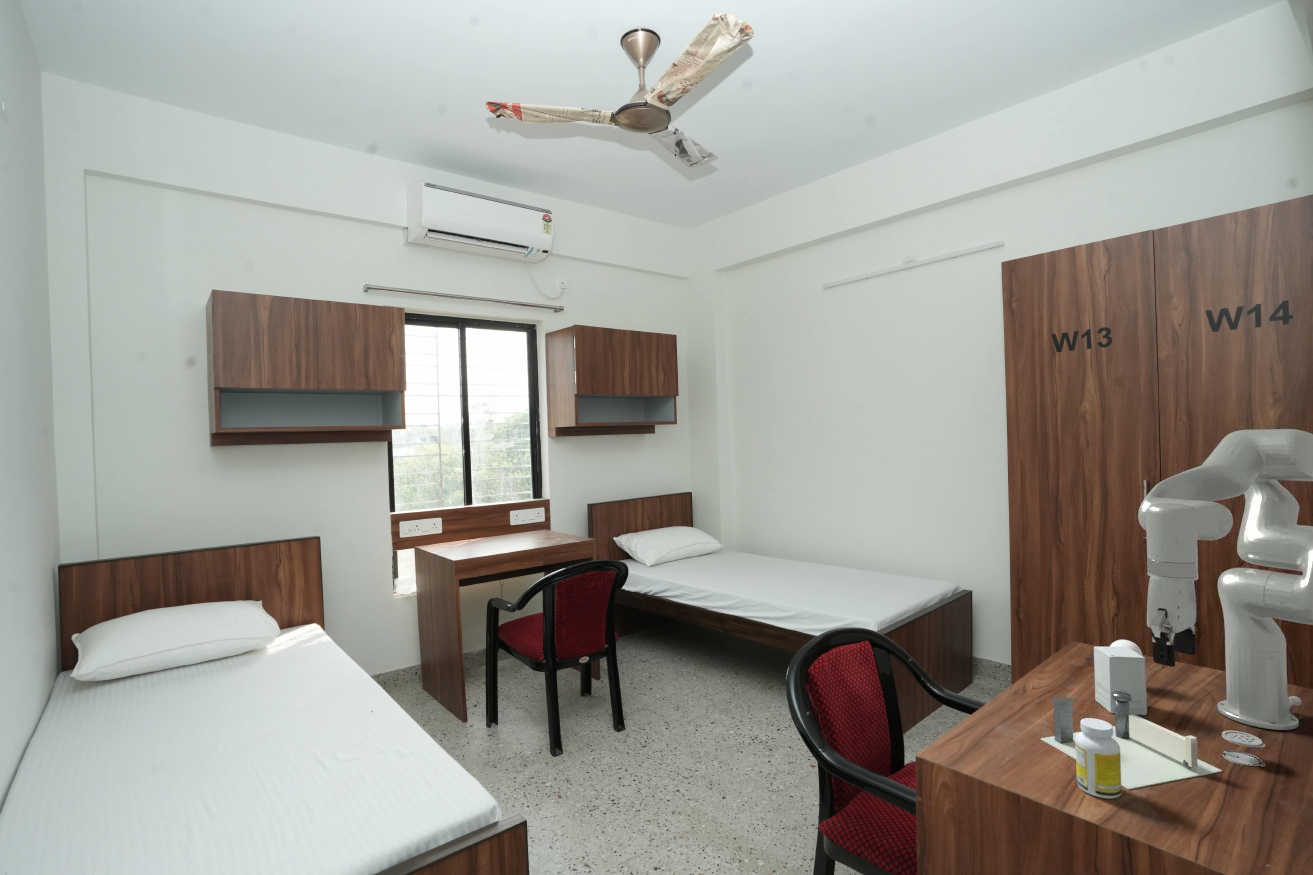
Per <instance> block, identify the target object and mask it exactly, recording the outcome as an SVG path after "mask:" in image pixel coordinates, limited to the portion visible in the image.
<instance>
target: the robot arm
mask: <svg viewBox="0 0 1313 875" xmlns="http://www.w3.org/2000/svg"><path fill="white" fill-rule="evenodd" d="M1279 481H1295V482H1296V481H1297V482H1313V433H1311V432H1308V431H1305V430H1301V429H1296V428H1295V429H1293V428H1280V429H1279V428H1278V429H1277V428H1275V429H1273V428H1272V429H1270V428H1269V429H1268V428H1267V429H1241V430H1236V431H1232V432H1230V433H1228V434H1227V435H1226V436H1225V437H1224V438H1222V439H1221V441H1220V442H1219V443H1218V444H1217V446H1216V447H1215V448H1214V449H1213V451H1212V452H1211V453H1210V455H1209V456H1208V457H1207V458H1206V459H1205V460H1204V462H1203V463H1202V464H1201V465H1199V466H1195V467H1193V468H1189V469H1187V470H1184V471H1182V472H1180V473H1177V474H1175V475H1173V476H1170V477H1167V478H1166V479H1164V480H1161V481H1160V482H1159V483H1156V485H1154V487H1153V488H1152V489H1151V490H1150V491H1149V492H1148V493H1147V495H1146V496H1145V497H1144V499H1143V500H1142V502H1141V504H1140V506H1139V509H1138V515H1137V518H1138V522H1139V525H1140V526H1141V528H1142V529H1143V530H1144V531H1145V532H1146V557H1147V558H1146V560H1147V561H1146V562H1147V563H1146V565H1147V576H1148V577H1149V581H1148V587H1147V588H1148V589H1147V602H1146V603H1147V604H1146V609H1147V610H1146V626H1147V627H1148V628H1149V629H1151V632H1150V633H1151V636H1152V638H1151V640H1152V653H1153V654H1152V655H1153V660H1152V661H1153V663H1154V664H1158V665H1162V666H1167V667H1171V668H1173V667H1175V666H1176V652H1177V653H1180V654H1186V655H1190V656H1195V655H1196V654H1197V650H1196V649H1197V648H1196V631H1197V630H1196V627H1195V624H1196V622H1197V597H1196V589H1195V581H1198V580H1199V562H1198V561H1199V555H1198V552H1199V550H1198V548H1199V547H1198V541H1216V540H1219V539H1222V538H1224V537H1226V536H1227V535H1228V534H1229V533H1230V531H1232V528H1233V526H1234V525H1233V524H1234V517H1233V515H1232V512H1231V511H1230V509H1228V507H1227V506H1225V505H1224V504H1221V503H1219V502H1217V501H1222V500H1227V499H1231V498H1236V497H1239V496H1241V495H1244V500H1245V503H1244V509H1243V510H1244V511H1243V515H1242V519H1241V524H1240V527H1239V532H1238V537H1237V542H1236V552H1237V555H1238V556H1239V558H1240V559H1241V560H1242V561H1245V562H1246V563H1249V564H1252V565H1255V566H1262V567H1269V568H1276V569H1282V570H1289V571H1297V572H1302V575H1299V574H1294V573H1285V572H1278V571H1273V570H1266V569H1259V568H1258V569H1257V568H1251V567H1234V568H1230V569H1227V570H1225V571H1223V572H1221V574H1220V575H1219V577H1218V580H1217V592H1218V596H1219V600H1220V604H1221V608H1222V615H1223V620H1224V622H1223V624H1224V648H1225V650H1224V651H1225V654H1224V655H1225V679H1226V680H1225V681H1226V682H1225V684H1226V685H1225V687H1226V688H1225V689H1226V690H1225V691H1226V699H1224V700H1221V701H1219V702H1218V703H1217V710H1218V712H1219V713H1220V714H1221V715H1223V716H1224V717H1225V718H1226V717H1227V718H1228V719H1230V720H1232V721H1235V722H1237V723H1242V724H1244V725H1248V726H1251V727H1255V728H1261V729H1267V730H1272V731H1273V730H1276V731H1291V730H1294V729H1297V728H1298V727H1299V724H1300V722H1299V721H1300V720H1299V719H1298V717H1297V716H1295V715H1294V713H1293V714H1292V713H1291V712H1290V709H1291V708H1292V707H1296V706H1297V707H1298V706H1301V705H1302V704H1303V702H1302V699H1301V698H1300V697H1298V696H1296V695H1291V696H1288V674H1287V672H1288V671H1287V670H1288V669H1287V668H1288V667H1287V665H1288V664H1287V641H1286V637H1285V634H1284V633H1283V631H1282V629H1281V628H1280V626H1279V625H1278V624H1277V622H1275V620H1274V619H1276V620H1280V621H1281V620H1282V621H1288V622H1293V623H1298V624H1302V625H1303V624H1305V625H1309V626H1313V526H1312V525H1302V524H1297V523H1298V517H1299V512H1300V504H1299V503H1298V501H1297V499H1296V498H1295V496H1294V495H1293V494H1292V493H1291V492H1290V491H1289V490H1288V489H1287V488H1285V487H1284V486H1283V485H1282V484H1281V483H1280V482H1279ZM1166 633H1167V635H1166Z"/></svg>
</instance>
